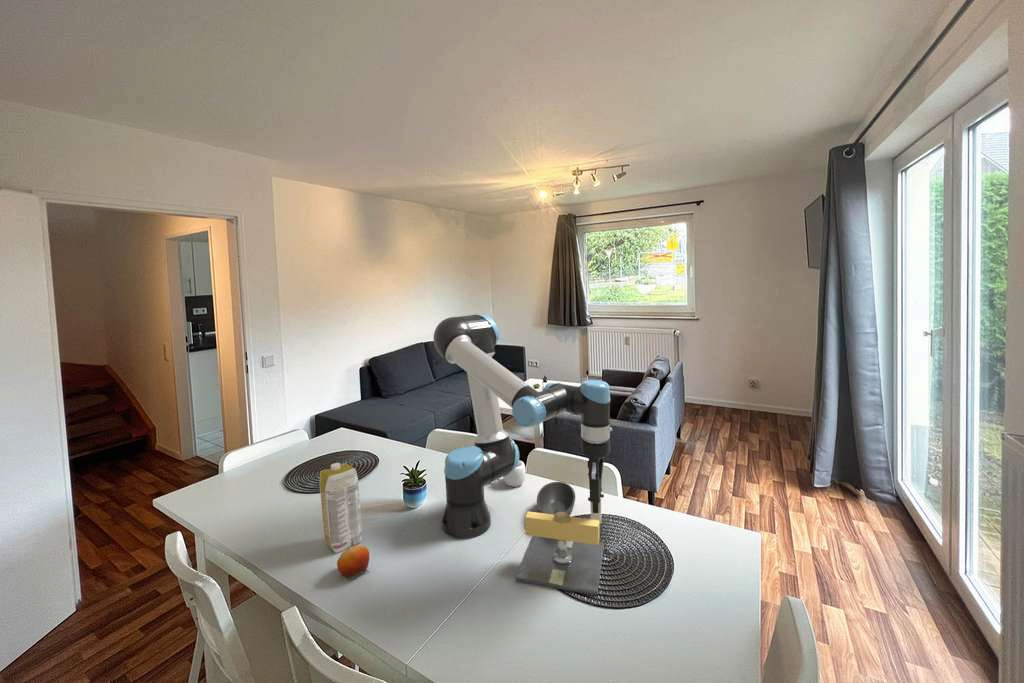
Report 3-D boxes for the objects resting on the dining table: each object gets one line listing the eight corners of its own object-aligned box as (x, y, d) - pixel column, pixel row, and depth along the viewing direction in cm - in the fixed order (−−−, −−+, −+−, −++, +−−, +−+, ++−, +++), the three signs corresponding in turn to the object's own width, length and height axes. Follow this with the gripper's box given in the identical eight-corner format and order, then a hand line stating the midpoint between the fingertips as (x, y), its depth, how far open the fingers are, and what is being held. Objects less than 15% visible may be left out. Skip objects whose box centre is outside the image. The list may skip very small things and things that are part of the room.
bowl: (576, 500, 147) (576, 482, 147) (573, 537, 126) (573, 517, 125) (541, 497, 150) (541, 480, 149) (532, 533, 128) (532, 514, 128)
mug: (527, 479, 164) (526, 459, 163) (524, 489, 156) (523, 469, 155) (496, 477, 166) (495, 458, 165) (491, 487, 158) (490, 467, 157)
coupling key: (525, 535, 114) (524, 515, 113) (529, 527, 118) (528, 507, 117) (598, 546, 109) (598, 524, 108) (599, 537, 113) (599, 516, 112)
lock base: (515, 581, 108) (515, 554, 107) (534, 536, 127) (534, 513, 126) (597, 595, 102) (597, 567, 101) (604, 546, 121) (604, 522, 120)
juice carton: (353, 531, 132) (347, 456, 129) (365, 542, 126) (359, 464, 123) (322, 545, 125) (315, 466, 122) (333, 557, 120) (326, 474, 116)
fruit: (356, 583, 106) (343, 553, 108) (340, 589, 110) (327, 559, 112) (382, 565, 113) (369, 536, 114) (365, 571, 117) (353, 543, 119)
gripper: (608, 448, 108) (608, 536, 111) (611, 431, 120) (611, 511, 123) (578, 446, 110) (579, 533, 113) (584, 429, 122) (585, 508, 125)
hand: (596, 521), depth 118 cm, fingers closed
